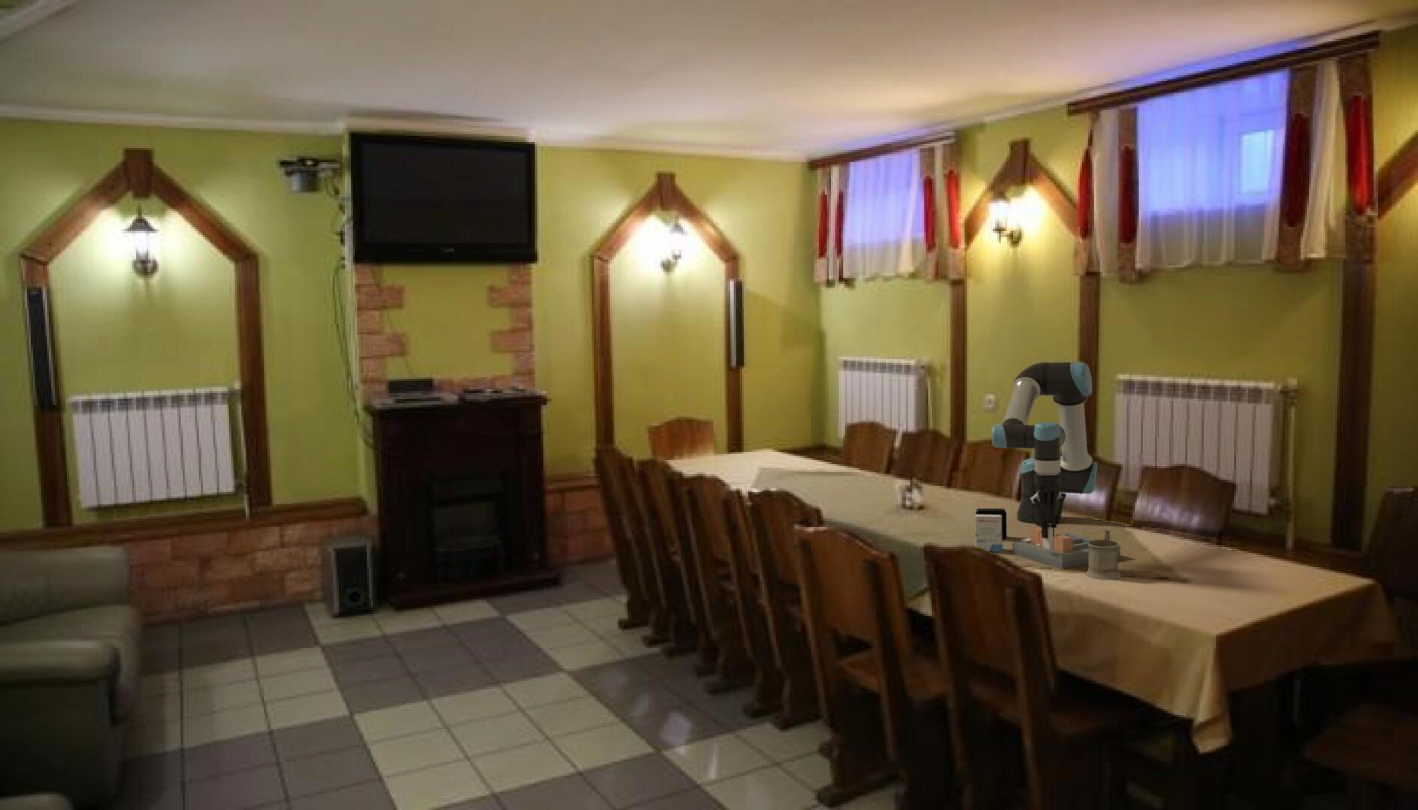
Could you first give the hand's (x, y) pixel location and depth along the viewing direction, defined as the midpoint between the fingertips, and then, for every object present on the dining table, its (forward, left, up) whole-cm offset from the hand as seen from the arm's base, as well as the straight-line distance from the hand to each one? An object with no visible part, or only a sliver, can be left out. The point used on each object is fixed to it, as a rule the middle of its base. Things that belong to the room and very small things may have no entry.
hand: (1048, 547), depth 306 cm
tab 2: (-6, -6, -3) cm, 9 cm away
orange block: (-6, 0, -3) cm, 7 cm away
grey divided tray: (-13, -6, -6) cm, 15 cm away
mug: (-8, +15, -6) cm, 18 cm away
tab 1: (-8, -12, -3) cm, 15 cm away
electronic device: (-10, -38, -6) cm, 40 cm away
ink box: (+2, -25, -6) cm, 26 cm away
